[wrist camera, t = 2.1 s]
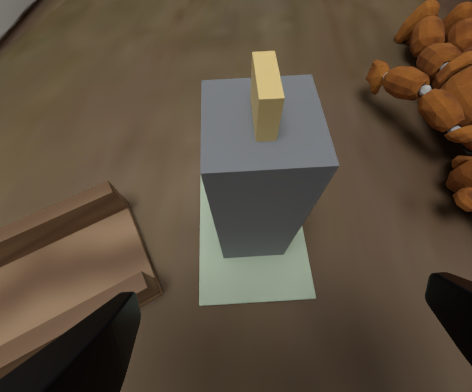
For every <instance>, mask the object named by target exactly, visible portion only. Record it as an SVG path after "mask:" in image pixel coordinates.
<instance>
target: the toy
mask: <svg viewBox="0 0 472 392" xmlns="http://www.w3.org/2000/svg"><path fill="white" fill-rule="evenodd" d="M439 7H440V4H439V3H438V2H437V1H436V0H429V1H425V2H424V3H423V4H421V5H420V6H419V7H418V8H417V9H416V10H415V11H414V12H413V13H412V14H411V15H410V16H409V17H408V18H407V19H406V21H405V22H404V23H403V25H402V26H401V28H400V30H399V31H398V33H397V34H396V36H395V42H396V43H402V42H404V41H405V42H406V44H410V52H411V53H412V55H413V56H414V57H416V58H417V61H416V66H417V68H415V67H411V66H398V67H395V68H393V69H390V70H389V66H388V64H387V63H386V62H384V61H381V60H375V61H374V62H373V63H372V66H371V68H370V70H369V72H368V75H367V77H366V80H367V81H368V82H369V84H370V85H371V86H370V90H371V93H373V94H376V93H377V92H378V91H379V88H380V87H381V85H382V84H383V87H384V89H385V91H386V92H388V93H389V94H391V95H392V96H393V97H395V98H399V99H405V100H416V99H418V98H419V97H420V98H419V99H418V112H419V113H420V114H421V116H422V117H423V118H424V119H425V120H426V122H427V123H428V124H429V125H430V126H431V127H432V128H433V129H435V130H438V131H440V132H445V131H448V133H447V134H445V135H444V136H445V137H446V138H447V139H448V140H449V141H452V142H455V143H462V144H458V145H459V146H460V147H461V148H462V149H463V150H464V151H465V152H466V153H467V154H472V2H464V3H460V4H458V5H457V6H456V7H455V8H454V9H453V10H452V11H451V12H450V13H449V14H448V15H447V16H446V17H445V18H444V19H443V20H441V19H440V18H439V17H437V16H438V13H439ZM430 82H432V84H431V85H432V87H433V89H431V86H430ZM421 96H422V97H421ZM452 168H453V169H454V170H452V171H451V172H450V174H449V176H448V180H447V181H446V186H447V188H448V189H449V190H451V191H453V192H455V194H454V195H452V196H453V198H454V200H455V202H456V205H457V206H459V207H460V208H462V209H463V210H465V211H466V212H472V156H459V155H458V156H456V157H455V158H454V159H453V160H452Z"/></svg>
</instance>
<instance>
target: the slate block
mask: <svg viewBox="0 0 472 392" xmlns="http://www.w3.org/2000/svg"><path fill="white" fill-rule="evenodd" d="M338 167H339V163H338V159H337V156H336V153H335V149H334V146H333V143H332V140H331V136H330V133H329V130H328V126H327V123H326V120H325V117H324V113H323V110H322V107H321V103H320V100H319V97H318V94H317V90H316V87H315V84H314V80H313V77H312V75H293V76H280V73H279V69H278V64H277V59H276V54H275V51H263V52H252V71H251V78H238V79H220V80H202V96H201V170H200V174H201V178H202V181H203V185H204V188H205V192H206V196H207V199H208V203H209V207H210V210H211V214H212V218H213V221H214V225H215V229H216V232H217V236H218V239H219V243H220V247H221V250H222V254H223V258H237V257H253V256H270V255H284V253H285V252H286V250H287V248H288V247H289V245H290V244H291V242H292V240H293V239H294V237H295V236H296V234H297V232H298V231H299V229H300V228H301V226H302V224H303V223H304V221H305V220H306V218H307V217H308V215H309V213H310V212H311V210H312V209H313V207H314V205H315V204H316V202H317V201H318V199H319V197H320V196H321V194H322V193H323V191H324V189H325V188H326V186H327V185H328V183H329V182H330V180H331V178H332V177H333V175H334V174H335V172H336V170H337V169H338Z"/></svg>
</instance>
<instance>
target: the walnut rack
mask: <svg viewBox="0 0 472 392" xmlns="http://www.w3.org/2000/svg"><path fill="white" fill-rule="evenodd" d="M129 291H134V292H135V293H136V295H137V299H138V303H139V307H141V306H142V305H144V304H146V303H148V302H149V301H151V300H153V299H155V298H157V297H158V296H160V295H162V294H164V293H163V291H162V288H161V286H160V283H159V280H158V278H157V275H156V273H155V270H154V268H153V265H152V263H151V260H150V257H149V255H148V252H147V250H146V247H145V245H144V242H143V240H142V237H141V234H140V232H139V229H138V227H137V224H136V222H135V219H134V217H133V214H132V211H131V209H130V206H129V204H128V201H127V200H126V199H125V198H124V197H123V196H122V195H121V194H120V193H119V192H118V191H117V190H116V189H115V188H114V186H113V185H112V184H111V183H110V182H109V181H107V182H105V183H102V184H100V185H98V186H95V187H93V188H91V189H88V190H86V191H84V192H82V193H79V194H77V195H75V196H72V197H70V198H68V199H65V200H63V201H61V202H59V203H56V204H54V205H52V206H49V207H47V208H45V209H42V210H40V211H38V212H36V213H33V214H31V215H29V216H26V217H24V218H22V219H20V220H17V221H15V222H13V223H10V224H8V225H6V226H3V227H1V228H0V379H1V378H2V377H3V376H5V375H6V374H8V373H9V372H10V371H12V370H13V369H15V368H16V367H17V366H19V365H20V364H22V363H23V362H24V361H26V360H27V359H28V358H30V357H31V356H33V355H34V354H35V353H37V352H38V351H40V350H41V349H42V348H44V347H45V346H47V345H48V344H49V343H51V342H52V341H54V340H55V339H56V338H58V337H59V336H61V335H62V334H63V333H65V332H66V331H67V330H69V329H70V328H72V327H73V326H74V325H76V324H77V323H79V322H80V321H81V320H83V319H84V318H86V317H87V316H88V315H90V314H91V313H92V312H94V311H95V310H97V309H98V308H99V307H101V306H102V305H104V304H105V303H106V302H108V301H109V300H111V299H112V298H113V297H115V296H116V295H117V294H119V293H121V292H129Z"/></svg>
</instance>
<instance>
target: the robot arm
mask: <svg viewBox="0 0 472 392" xmlns="http://www.w3.org/2000/svg"><path fill="white" fill-rule="evenodd" d="M425 299H426V302H427V304H428V305H429V307H430V308H431V310H432V311H433V313H434V314H435V315H436V317H437V318H438V320H439V321H440V323H441V324H442V326H443V327H444V328H445V330H446V331H447V333H448V334H449V336H450V337H451V339H452V340H453V342H454V343H455V344H456V346H457V347H458V349H459V350H460V351H461V353H462V354H463V355H464V357H465V358H466V359H467V361H468V362H469V363H470V364H471V366H472V281H470V280H467V279H464V278H461V277H459V276H456V275H453V274H450V273H447V272H440V273H432V274H431V275H430V276H429V279H428V284H427V288H426V293H425ZM140 319H141V313H140V308H139V303H138V299H137V295H136V293H135V292H134V291H129V292H121V293H119V294H117V295H116V296H115V297H113V298H112V299H111V300H109V301H108V302H106V303H105V304H104V305H102V306H101V307H99V308H98V309H97V310H95V311H94V312H92V313H91V314H90V315H88V316H87V317H86V318H84V319H83V320H81V321H80V322H79V323H77V324H76V325H74V326H73V327H72V328H70V329H69V330H67V331H66V332H65V333H63V334H62V335H61V336H59V337H58V338H56V339H55V340H54V341H52V342H51V343H49V344H48V345H47V346H45V347H44V348H42V349H41V350H40V351H38V352H37V353H35V354H34V355H33V356H31V357H30V358H28V359H27V360H26V361H24V362H23V363H22V364H20V365H19V366H17V367H16V368H15V369H13V370H12V371H10V372H9V373H8V374H6V375H5V376H3V377H2V378H1V379H0V392H120V390H121V387H122V384H123V382H124V379H125V376H126V372H127V369H128V365H129V361H130V358H131V354H132V350H133V346H134V343H135V339H136V335H137V331H138V327H139V324H140Z"/></svg>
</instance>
